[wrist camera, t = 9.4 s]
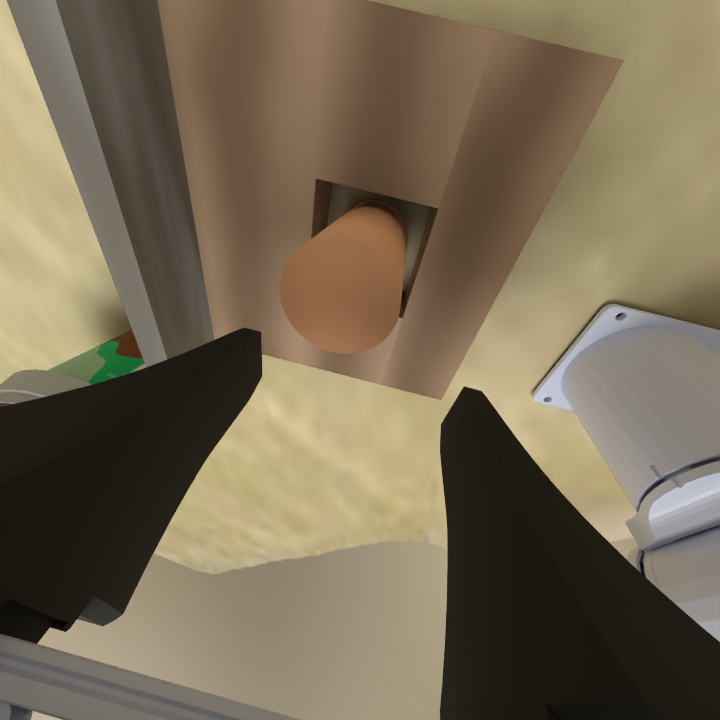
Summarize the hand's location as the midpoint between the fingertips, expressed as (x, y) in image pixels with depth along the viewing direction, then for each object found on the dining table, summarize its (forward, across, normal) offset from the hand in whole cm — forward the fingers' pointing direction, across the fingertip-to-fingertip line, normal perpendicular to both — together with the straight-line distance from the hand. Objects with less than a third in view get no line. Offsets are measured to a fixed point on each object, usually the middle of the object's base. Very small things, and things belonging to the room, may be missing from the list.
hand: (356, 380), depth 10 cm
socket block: (+10, +3, -2) cm, 10 cm away
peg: (+10, +1, -2) cm, 10 cm away
